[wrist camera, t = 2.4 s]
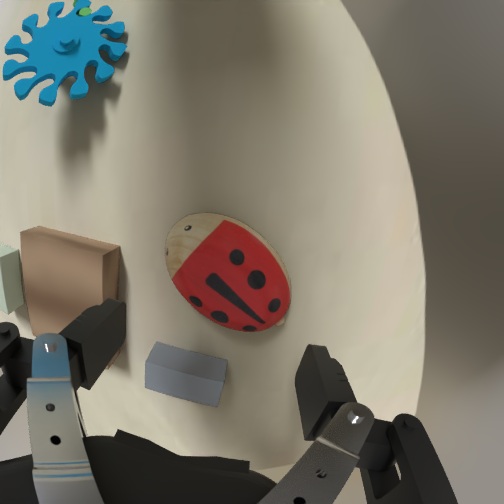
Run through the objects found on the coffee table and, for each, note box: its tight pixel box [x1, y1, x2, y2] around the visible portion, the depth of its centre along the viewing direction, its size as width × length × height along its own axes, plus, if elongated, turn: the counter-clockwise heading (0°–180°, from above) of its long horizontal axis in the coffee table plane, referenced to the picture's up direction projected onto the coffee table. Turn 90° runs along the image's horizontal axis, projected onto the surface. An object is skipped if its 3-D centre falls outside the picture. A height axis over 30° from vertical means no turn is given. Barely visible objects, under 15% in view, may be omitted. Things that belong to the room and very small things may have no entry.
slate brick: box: [145, 342, 227, 407], centre depth 20 cm, size 6×3×3 cm, turn 76°
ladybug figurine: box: [165, 213, 291, 332], centre depth 17 cm, size 7×10×4 cm
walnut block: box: [20, 226, 120, 369], centre depth 18 cm, size 10×9×3 cm
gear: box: [3, 0, 127, 106], centre depth 12 cm, size 11×6×10 cm
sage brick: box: [0, 243, 24, 315], centre depth 18 cm, size 6×3×3 cm, turn 168°
